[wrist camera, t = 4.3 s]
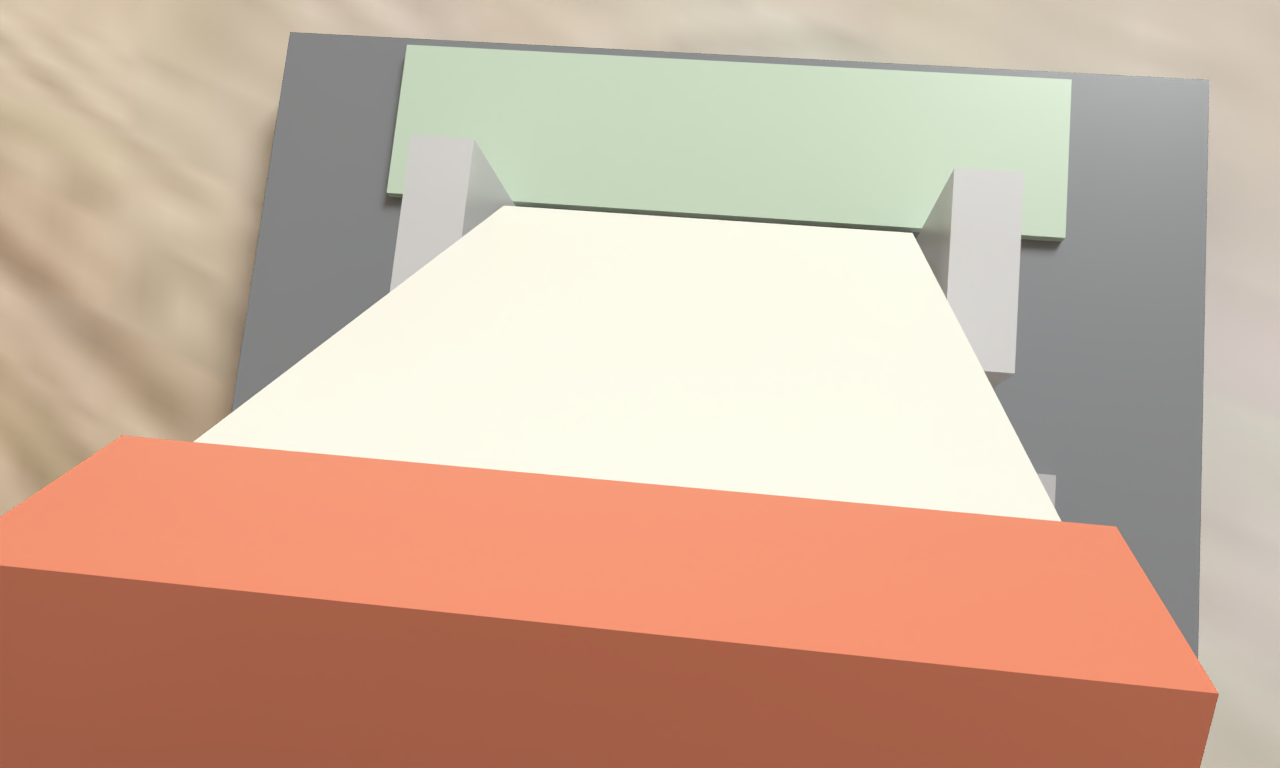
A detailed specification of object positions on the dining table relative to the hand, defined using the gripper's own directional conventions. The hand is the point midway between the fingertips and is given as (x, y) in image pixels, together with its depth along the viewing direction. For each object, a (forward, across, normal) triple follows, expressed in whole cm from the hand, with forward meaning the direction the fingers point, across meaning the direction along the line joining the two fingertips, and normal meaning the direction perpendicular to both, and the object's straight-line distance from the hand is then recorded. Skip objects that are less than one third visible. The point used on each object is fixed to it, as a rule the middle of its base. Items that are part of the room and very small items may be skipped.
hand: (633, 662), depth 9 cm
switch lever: (+7, 0, 0) cm, 7 cm away
